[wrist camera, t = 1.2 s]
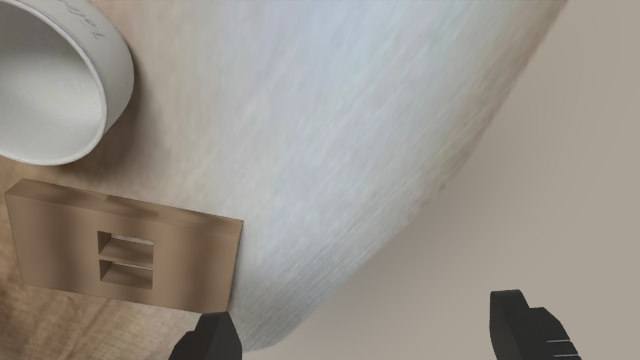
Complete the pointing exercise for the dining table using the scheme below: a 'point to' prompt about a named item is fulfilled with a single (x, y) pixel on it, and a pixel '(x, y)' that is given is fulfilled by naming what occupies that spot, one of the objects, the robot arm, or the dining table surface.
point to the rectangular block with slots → (122, 247)
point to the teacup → (59, 79)
